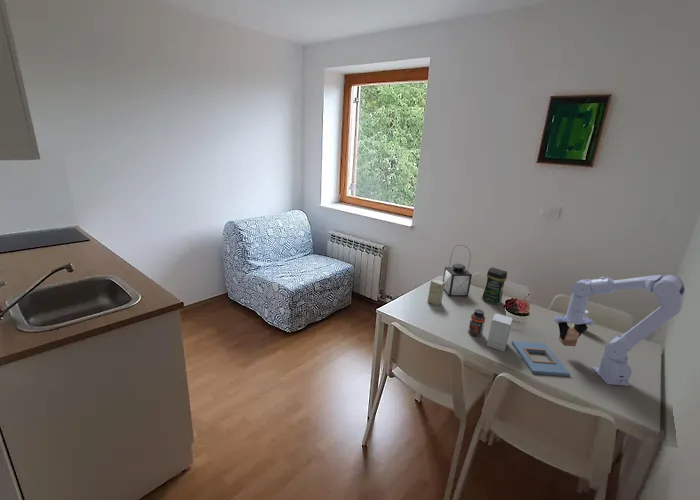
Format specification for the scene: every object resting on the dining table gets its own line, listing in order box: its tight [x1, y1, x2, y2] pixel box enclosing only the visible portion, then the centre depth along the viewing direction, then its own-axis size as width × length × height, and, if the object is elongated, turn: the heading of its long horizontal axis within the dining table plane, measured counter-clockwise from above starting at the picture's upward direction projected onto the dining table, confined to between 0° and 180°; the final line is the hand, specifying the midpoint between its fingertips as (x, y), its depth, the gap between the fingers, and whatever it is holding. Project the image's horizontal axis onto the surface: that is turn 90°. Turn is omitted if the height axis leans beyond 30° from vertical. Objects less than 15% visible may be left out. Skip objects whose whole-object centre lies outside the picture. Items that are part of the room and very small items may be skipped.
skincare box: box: [427, 278, 445, 307], centre depth 184 cm, size 6×4×12 cm
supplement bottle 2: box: [571, 309, 590, 328], centre depth 167 cm, size 5×5×10 cm
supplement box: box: [486, 312, 514, 352], centre depth 150 cm, size 7×7×13 cm
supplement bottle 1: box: [467, 308, 486, 337], centre depth 158 cm, size 6×6×11 cm
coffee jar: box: [481, 266, 508, 305], centre depth 189 cm, size 10×8×19 cm
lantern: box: [442, 244, 473, 298], centre depth 196 cm, size 11×11×28 cm
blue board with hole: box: [511, 340, 571, 377], centre depth 144 cm, size 20×14×2 cm
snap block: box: [558, 326, 580, 347], centre depth 144 cm, size 4×4×6 cm
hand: (568, 338), depth 145 cm, fingers closed on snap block, 4 cm apart
